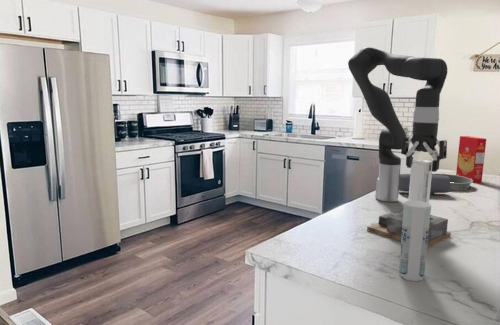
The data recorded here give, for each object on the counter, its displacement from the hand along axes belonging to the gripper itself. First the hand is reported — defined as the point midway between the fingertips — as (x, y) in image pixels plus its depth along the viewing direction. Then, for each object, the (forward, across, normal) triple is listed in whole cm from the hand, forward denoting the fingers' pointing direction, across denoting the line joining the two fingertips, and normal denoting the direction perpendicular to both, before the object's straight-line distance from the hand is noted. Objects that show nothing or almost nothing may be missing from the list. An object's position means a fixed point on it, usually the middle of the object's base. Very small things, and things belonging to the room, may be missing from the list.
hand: (421, 169), depth 124 cm
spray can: (+24, +14, -29) cm, 40 cm away
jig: (+24, -3, 0) cm, 24 cm away
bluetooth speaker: (+24, -28, +58) cm, 69 cm away
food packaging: (+24, -28, +111) cm, 117 cm away
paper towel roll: (+22, 0, 0) cm, 22 cm away
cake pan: (+24, -30, +86) cm, 94 cm away
